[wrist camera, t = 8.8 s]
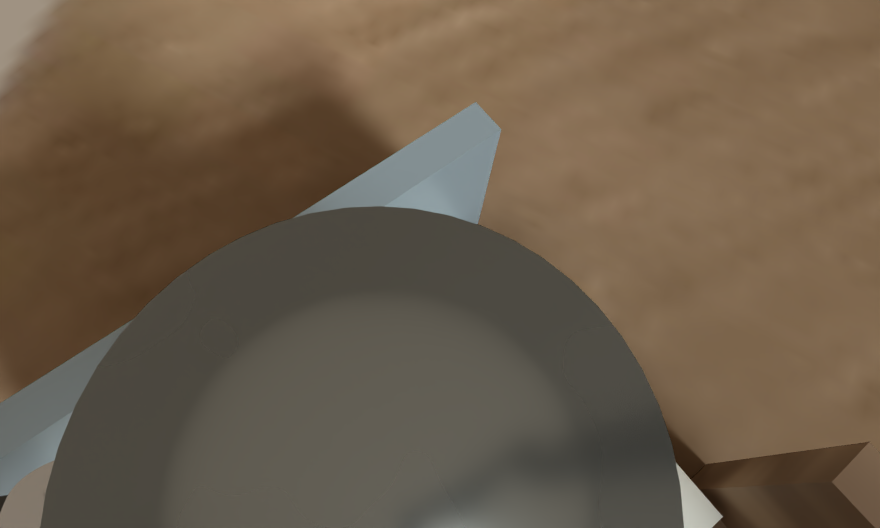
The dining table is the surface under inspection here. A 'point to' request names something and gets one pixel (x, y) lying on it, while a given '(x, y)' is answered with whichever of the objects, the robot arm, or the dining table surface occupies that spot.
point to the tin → (367, 392)
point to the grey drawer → (387, 184)
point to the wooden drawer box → (797, 489)
